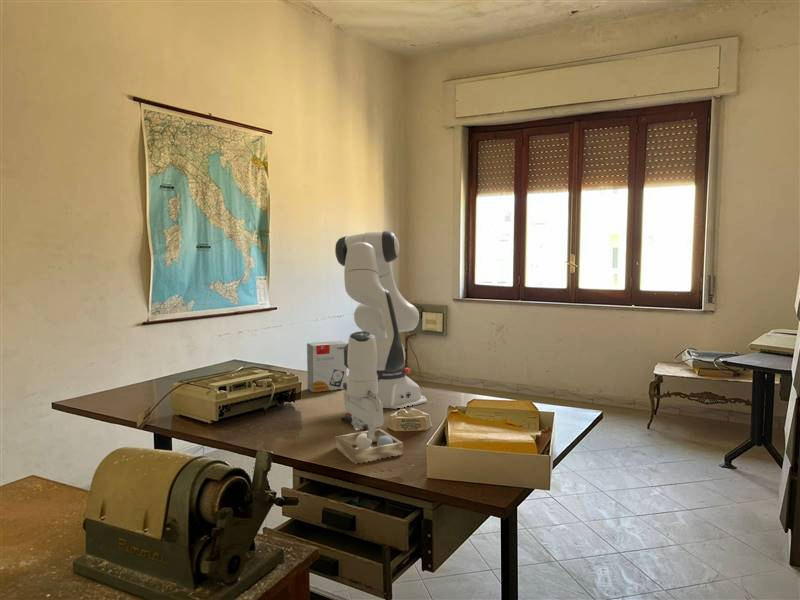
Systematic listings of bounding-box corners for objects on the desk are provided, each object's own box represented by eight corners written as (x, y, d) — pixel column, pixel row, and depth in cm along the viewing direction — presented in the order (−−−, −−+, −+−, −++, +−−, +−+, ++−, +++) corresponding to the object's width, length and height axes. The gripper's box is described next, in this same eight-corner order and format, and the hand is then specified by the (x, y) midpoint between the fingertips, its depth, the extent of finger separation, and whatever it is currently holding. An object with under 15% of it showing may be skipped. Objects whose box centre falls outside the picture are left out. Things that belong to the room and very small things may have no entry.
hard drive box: (312, 393, 234) (310, 345, 232) (307, 389, 241) (306, 342, 239) (347, 389, 240) (346, 342, 239) (341, 385, 247) (340, 340, 246)
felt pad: (369, 445, 171) (369, 444, 171) (377, 452, 166) (377, 451, 166) (350, 449, 168) (350, 448, 168) (358, 455, 163) (358, 454, 163)
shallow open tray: (380, 439, 177) (380, 428, 176) (403, 454, 163) (402, 442, 163) (335, 447, 170) (335, 436, 169) (355, 464, 156) (355, 452, 156)
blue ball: (388, 447, 169) (388, 432, 168) (396, 453, 165) (396, 437, 164) (374, 450, 167) (374, 435, 166) (381, 455, 162) (381, 439, 162)
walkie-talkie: (336, 424, 193) (380, 436, 181) (336, 411, 193) (380, 422, 180) (354, 418, 200) (397, 429, 188) (353, 406, 200) (397, 416, 187)
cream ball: (367, 445, 170) (367, 430, 170) (374, 450, 166) (374, 434, 166) (353, 448, 168) (352, 432, 168) (359, 453, 164) (359, 437, 163)
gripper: (388, 394, 157) (389, 442, 159) (358, 379, 175) (359, 423, 177) (368, 397, 155) (369, 446, 156) (339, 382, 173) (340, 426, 174)
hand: (363, 433), depth 166 cm, fingers open, 8 cm apart
